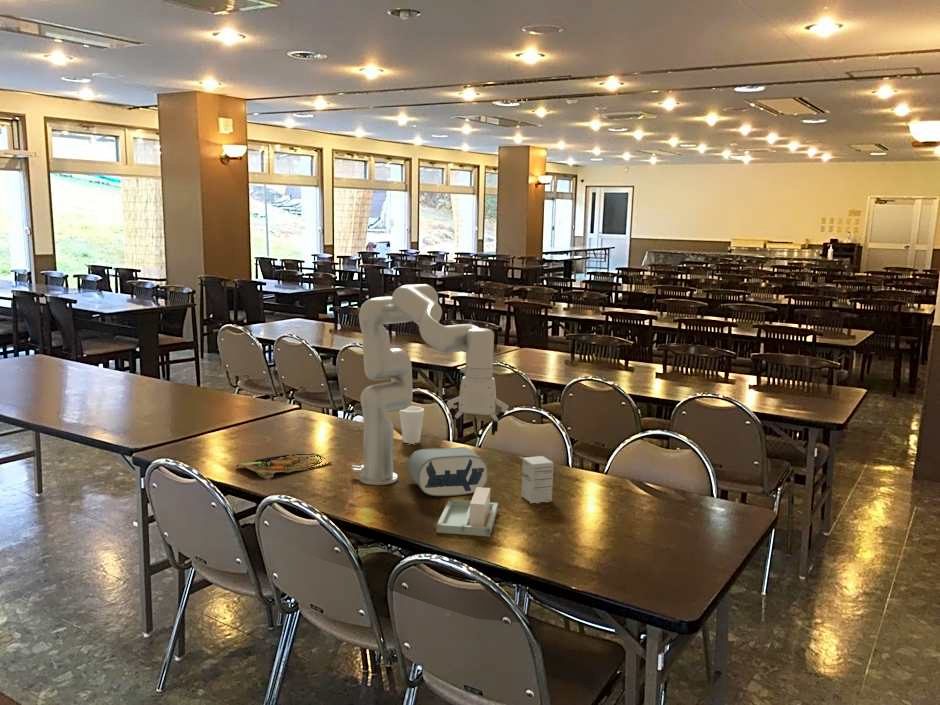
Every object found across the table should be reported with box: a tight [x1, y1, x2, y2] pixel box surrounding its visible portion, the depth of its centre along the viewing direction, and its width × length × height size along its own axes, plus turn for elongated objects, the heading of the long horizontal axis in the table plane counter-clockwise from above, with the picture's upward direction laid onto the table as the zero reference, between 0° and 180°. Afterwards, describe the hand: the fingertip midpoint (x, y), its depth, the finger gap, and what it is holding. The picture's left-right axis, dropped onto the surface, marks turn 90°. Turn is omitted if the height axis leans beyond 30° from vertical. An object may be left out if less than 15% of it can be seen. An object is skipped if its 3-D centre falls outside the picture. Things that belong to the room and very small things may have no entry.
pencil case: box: [407, 446, 489, 497], centre depth 253 cm, size 22×19×13 cm
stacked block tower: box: [520, 455, 554, 505], centre depth 244 cm, size 7×7×13 cm
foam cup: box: [398, 405, 425, 445], centre depth 303 cm, size 10×9×13 cm
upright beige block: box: [470, 487, 491, 527], centre depth 225 cm, size 4×14×7 cm, turn 172°
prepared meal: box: [235, 452, 333, 478], centre depth 271 cm, size 28×4×18 cm
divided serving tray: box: [436, 498, 499, 537], centre depth 225 cm, size 15×20×2 cm
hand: (476, 432), depth 224 cm, fingers open, 9 cm apart
